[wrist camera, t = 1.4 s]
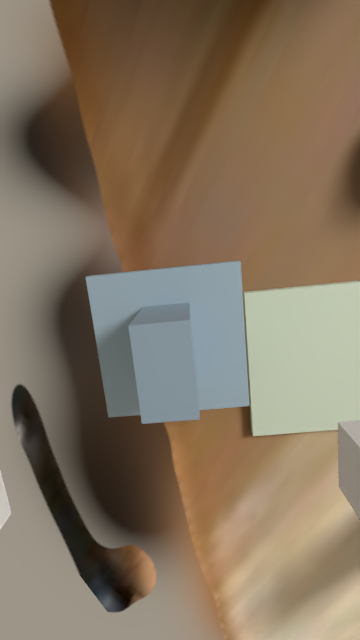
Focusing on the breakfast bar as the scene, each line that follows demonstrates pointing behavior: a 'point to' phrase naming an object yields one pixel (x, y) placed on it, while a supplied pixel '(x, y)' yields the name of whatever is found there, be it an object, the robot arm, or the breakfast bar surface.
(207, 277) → the lid
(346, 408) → the mat
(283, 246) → the breakfast bar surface
